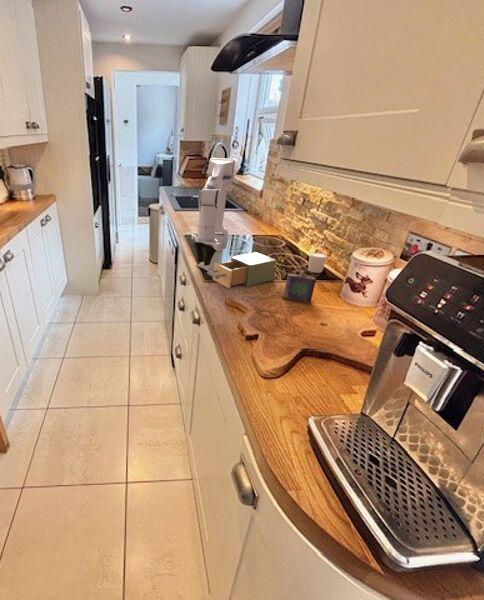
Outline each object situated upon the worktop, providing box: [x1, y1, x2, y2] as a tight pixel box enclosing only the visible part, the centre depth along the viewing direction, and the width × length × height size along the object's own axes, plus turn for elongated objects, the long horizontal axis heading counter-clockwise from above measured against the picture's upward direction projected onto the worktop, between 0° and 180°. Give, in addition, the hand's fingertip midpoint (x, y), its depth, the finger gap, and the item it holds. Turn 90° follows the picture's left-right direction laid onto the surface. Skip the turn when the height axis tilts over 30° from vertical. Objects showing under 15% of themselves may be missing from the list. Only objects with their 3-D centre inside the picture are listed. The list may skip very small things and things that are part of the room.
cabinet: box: [230, 252, 277, 287], centre depth 130 cm, size 14×11×9 cm
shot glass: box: [307, 252, 329, 274], centre depth 140 cm, size 7×7×7 cm
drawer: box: [206, 260, 249, 289], centre depth 125 cm, size 17×9×7 cm, turn 119°
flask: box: [282, 270, 317, 304], centre depth 113 cm, size 9×3×11 cm, turn 65°
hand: (203, 263), depth 116 cm, fingers open, 3 cm apart
